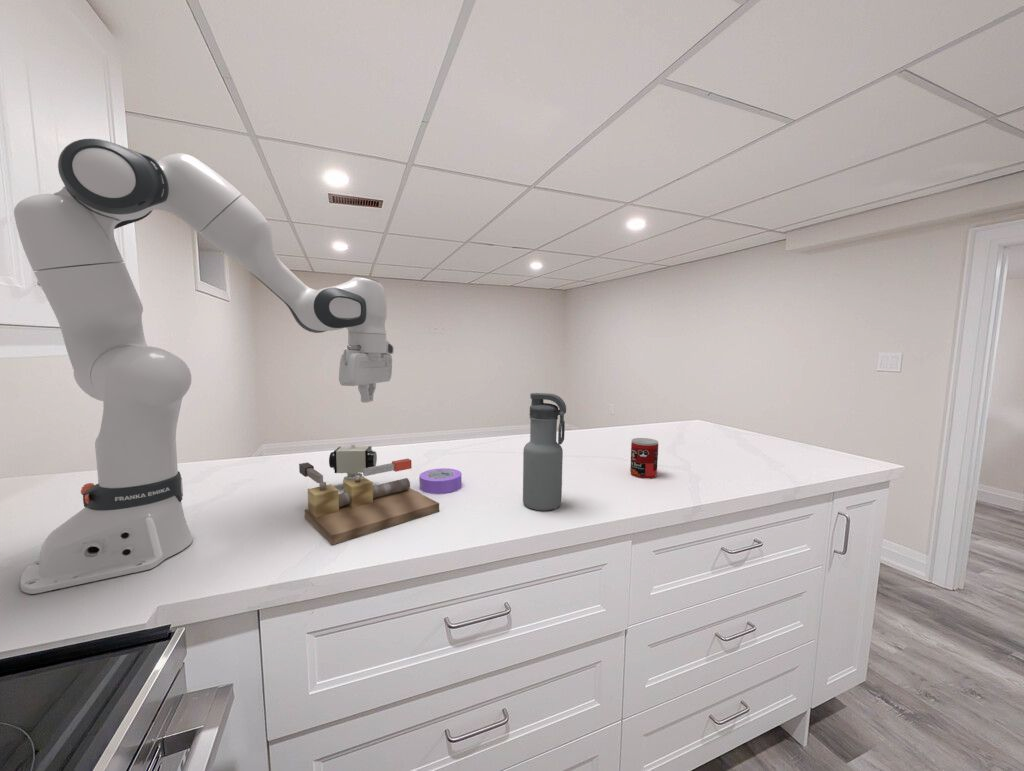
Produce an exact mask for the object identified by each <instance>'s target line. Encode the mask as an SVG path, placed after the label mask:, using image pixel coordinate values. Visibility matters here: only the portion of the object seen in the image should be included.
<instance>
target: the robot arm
mask: <svg viewBox="0 0 1024 771" xmlns="http://www.w3.org/2000/svg"><path fill="white" fill-rule="evenodd" d="M57 170H58V173H59V174H58V175H59V177H60V180H61V181H62V183H63V185H64V186H62V189H61V190H59V191H56V192H53V193H41V194H34V195H31V196H28V197H24V198H23V199H22V200H20V201H19V202H18V203H17V204H16V205H15V207H14V209H13V215H14V220H15V225H16V229H17V233H18V236H19V239H20V242H21V245H22V248H23V250H24V254H25V256H26V258H27V261H28V263H29V265H30V267H31V269H32V271H33V273H34V275H35V277H36V279H37V281H38V284H39V285H40V287H41V289H42V291H43V293H44V294H45V297H46V299H47V301H48V302H49V305H50V308H51V309H52V310H53V313H54V316H55V318H56V320H57V322H58V325H59V327H60V331H61V334H62V338H63V342H64V346H65V349H66V351H67V356H68V357H69V361H70V364H71V366H72V369H73V377H74V381H75V383H76V384H77V386H79V388H80V389H81V390H82V391H83V392H84V393H86V394H87V395H88V396H90V397H91V398H93V399H95V400H97V401H101V402H102V403H103V404H102V405H103V409H102V417H101V423H100V429H99V432H98V435H97V437H96V439H95V442H94V447H95V448H94V449H95V459H96V470H97V482H98V483H96V484H95V483H92V482H88V483H85V484H84V485H83V486H81V490H80V494H81V496H82V502H83V503H82V504H83V506H84V508H82V509H81V510H79V511H78V512H76V514H74V515H73V516H71V517H70V518H69V519H68V520H66V521H64V522H63V523H62V524H60V525H59V526H57V527H56V528H55V529H53V531H51V532H50V533H49V534H48V536H47V537H46V538H45V540H44V542H43V544H42V546H41V549H40V553H39V559H37V560H35V561H34V562H33V563H31V564H30V565H28V566H27V567H26V569H24V571H23V572H22V574H21V577H20V582H19V584H20V585H19V586H20V588H19V589H20V590H21V591H22V592H24V593H25V594H30V595H35V594H41V593H46V592H50V591H53V590H58V589H64V588H69V587H74V586H76V585H82V584H87V583H91V582H97V581H101V580H106V579H110V578H115V577H121V576H125V575H129V574H130V575H131V574H133V573H138V572H143V571H148V570H150V569H153V568H155V567H157V566H159V565H160V564H161V563H163V561H165V560H166V559H168V558H170V557H172V556H174V555H176V554H179V553H180V552H181V551H184V550H185V549H187V548H188V547H189V546H190V545H191V544H192V543H193V541H194V537H193V534H192V533H191V530H190V528H189V526H188V523H187V520H186V517H185V513H184V509H183V508H184V507H183V503H182V502H183V497H184V487H183V478H182V474H181V472H180V471H179V470H178V456H177V427H178V421H179V416H180V411H181V406H182V401H183V398H184V397H185V395H186V394H187V393H188V391H189V389H190V387H191V384H192V373H191V369H190V368H189V366H188V364H187V363H186V362H185V361H184V360H183V359H182V358H181V357H179V356H177V355H176V354H173V353H171V352H170V351H167V350H166V349H162V348H161V347H160V348H159V347H155V346H148V344H147V342H146V338H145V333H144V325H143V318H142V317H143V312H144V309H143V308H144V307H143V303H142V300H141V299H140V296H139V294H138V291H137V289H136V286H135V284H134V281H133V280H132V278H131V275H130V273H129V270H128V269H127V266H126V263H124V258H123V257H122V255H121V252H120V250H119V247H118V244H117V242H116V240H115V233H114V232H115V230H116V229H119V228H121V227H124V226H127V225H130V224H133V223H136V222H139V221H142V220H143V219H145V218H146V217H148V216H149V215H150V214H152V212H153V211H155V210H156V211H157V210H159V211H163V212H167V213H170V214H172V215H174V216H176V217H177V218H179V219H181V220H182V221H183V222H185V223H186V224H187V225H188V226H190V227H191V229H193V230H194V231H195V232H196V233H198V234H199V235H200V236H202V237H203V238H204V239H206V241H207V242H209V243H210V244H212V246H214V247H216V248H217V249H218V250H220V251H221V252H222V253H224V254H225V255H227V256H228V257H230V258H231V259H232V260H233V261H235V262H236V263H238V264H239V265H240V266H241V267H243V268H244V269H245V270H247V271H248V272H249V273H251V275H253V276H254V277H255V278H256V279H257V280H258V281H260V282H261V283H262V284H263V285H264V286H265V287H266V288H267V289H268V290H269V291H270V292H272V293H273V294H274V295H275V296H276V297H277V298H278V299H280V300H281V301H282V302H283V303H284V304H285V305H286V307H287V308H288V309H289V311H290V313H291V314H292V317H293V318H294V320H295V321H296V323H297V324H298V325H299V326H300V327H301V328H302V329H303V330H305V331H307V332H309V333H313V334H315V333H316V334H320V333H325V332H328V331H329V332H330V331H338V330H339V331H340V330H343V329H347V331H348V332H347V333H348V334H347V337H348V338H347V340H348V341H347V342H348V344H347V345H346V347H345V349H344V350H343V353H342V354H341V357H340V361H339V368H338V369H339V370H338V382H339V384H340V386H345V387H346V386H347V387H355V386H357V389H358V392H359V395H360V402H361V403H371V402H373V401H374V394H375V392H376V389H377V384H379V383H380V384H381V383H387V382H390V381H391V379H392V375H393V374H392V372H393V354H394V353H395V352H394V350H395V347H394V345H393V344H391V342H389V340H388V339H387V330H386V327H385V325H386V320H387V296H386V295H387V294H386V290H385V288H384V286H383V284H381V283H380V282H379V281H377V280H375V279H373V278H369V277H363V276H355V277H352V278H351V279H349V280H348V281H346V282H343V283H340V284H337V285H334V286H333V285H332V286H329V287H324V288H319V289H314V288H311V287H309V286H307V285H306V284H305V283H304V282H303V281H302V280H301V279H300V278H299V277H298V276H296V274H295V273H294V272H292V271H291V270H290V269H289V268H288V267H287V266H286V265H285V264H284V263H283V262H282V260H280V258H279V257H278V255H277V254H276V252H275V249H274V245H273V232H272V228H271V225H270V223H269V221H268V220H267V219H266V218H265V216H264V215H263V213H262V212H261V211H260V210H259V209H258V207H256V205H255V204H253V203H252V202H251V200H249V199H248V198H247V197H246V196H245V195H244V194H242V192H241V191H239V190H238V189H237V188H236V187H235V186H234V185H233V184H232V183H230V182H229V181H228V180H226V179H225V178H224V177H223V176H222V175H220V174H219V173H218V172H217V171H215V170H213V169H212V168H211V167H209V165H207V164H206V163H203V162H202V161H201V160H200V159H199V158H197V157H195V156H193V155H190V154H188V153H182V152H178V153H172V154H171V153H170V154H168V155H165V156H163V157H162V158H160V159H159V160H158V161H157V160H156V159H155V158H153V157H152V156H150V155H146V154H145V153H141V152H138V151H135V150H132V149H130V148H127V147H125V146H123V145H120V144H117V143H114V142H112V141H108V140H104V139H100V138H99V139H97V138H83V139H78V140H74V141H71V143H68V144H67V145H66V146H65V147H64V148H63V149H62V151H61V152H60V155H59V157H58V161H57Z"/></svg>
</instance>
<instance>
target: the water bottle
mask: <svg viewBox="0 0 1024 771" xmlns="http://www.w3.org/2000/svg"><path fill="white" fill-rule="evenodd" d="M530 399H531V401H530V402H531V403H530V404H531V405H530V406H529V419H530V420H529V421H530V426H529V427H530V429H529V430H530V432H529V435H530V436H529V441H528V442H527V443H526V444H525V445H524V446H523V456H522V457H523V459H522V460H523V462H522V467H523V468H522V469H523V470H522V479H523V480H522V503H523V504H524V506H526V507H527V508H528V509H531V510H535V511H539V512H540V511H552V510H553V511H554V510H555V509H558V508H559V507H560V506H561V504H562V496H563V495H562V492H563V490H562V489H563V459H564V458H563V455H564V453H563V448H562V444H563V442H564V440H565V433H566V432H565V431H566V430H565V428H566V426H565V425H566V424H565V423H566V422H565V414H566V413H567V404H566V403H565V401H564V399H563V398H562V397H560V396H559V395H557V394H554V393H546V392H545V393H544V392H543V393H542V392H532V393H530ZM544 400H545V401H550V402H553V403H555V404H553V403H547V402H544ZM558 418H559V424H558V425H557V423H558ZM557 426H558V427H557ZM557 428H558V429H557ZM557 430H558V432H557ZM557 435H558V436H557Z"/></svg>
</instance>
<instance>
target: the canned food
mask: <svg viewBox="0 0 1024 771" xmlns="http://www.w3.org/2000/svg"><path fill="white" fill-rule="evenodd" d="M630 446H631V447H630V467H629V468H630V469H629V470H630V471H629V472H630V475H631V476H633V477H634V476H635V478H638V479H644V478H650V479H654V478H656V477H657V474H658V459H659V458H658V457H659V441H658V440H656V439H653V438H648V437H647V438H646V437H636V438H632V439H631V444H630Z"/></svg>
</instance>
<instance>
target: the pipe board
mask: <svg viewBox="0 0 1024 771" xmlns="http://www.w3.org/2000/svg"><path fill="white" fill-rule="evenodd" d="M298 464H299V466H298V467H299V474H300V475H302V476H303V477H305V478H307V477H309V478H310V479H311V480H312V481H314V482H315V483H317V484H318V486H317V487H312V488H308V489H307V505H308V506H307V507H308V508H306V509H304V519H305V520H306V521H307V522H308V523H309V524H310V525H311V526H312V527H313V528H314V529H315V530H316V531H317V532H318V533H319V534H320V535H321V536H323V538H324V539H326V541H327V542H328V543H329V544H330V545H331V546H334V545H337V544H340V543H343V542H346V541H347V542H348V541H350V540H353V539H356V538H359V537H363V536H366V535H369V534H372V533H375V532H379V531H382V530H385V529H389V528H391V527H394V526H397V525H400V524H404V523H407V522H410V521H414V520H416V519H419V518H423V517H425V516H429V515H432V514H436V513H438V512H440V502H438V501H435V500H433V499H432V498H430V497H428V496H426V495H424V494H422V493H420V492H418V491H417V490H415V489H413V488H411V484H410V483H411V482H410V479H409V478H407V477H405V478H401V479H397V480H393V481H387V482H384V483H380V484H375V485H374V484H373V483H374V482H373V481H371V480H369V479H368V478H367V477H366V476H364V477H361V481H358V482H356V481H355V479H352V480H348V481H343V480H342V484H343V485H342V486H343V492H341V493H339V489H338V488H337V487H335V486H334V485H332V484H331V483H330V484H327V482H326V481H324V475H323V474H322V473H320V472H319V471H317V470H315V468H314V465H312V464H311V463H309V462H301V463H298Z"/></svg>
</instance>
